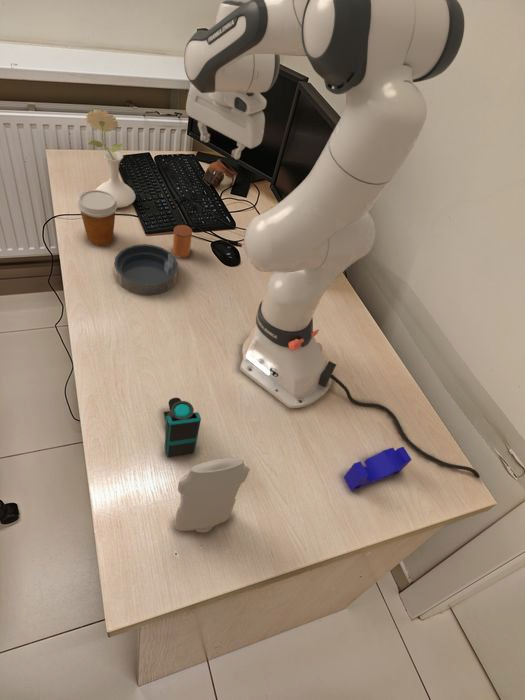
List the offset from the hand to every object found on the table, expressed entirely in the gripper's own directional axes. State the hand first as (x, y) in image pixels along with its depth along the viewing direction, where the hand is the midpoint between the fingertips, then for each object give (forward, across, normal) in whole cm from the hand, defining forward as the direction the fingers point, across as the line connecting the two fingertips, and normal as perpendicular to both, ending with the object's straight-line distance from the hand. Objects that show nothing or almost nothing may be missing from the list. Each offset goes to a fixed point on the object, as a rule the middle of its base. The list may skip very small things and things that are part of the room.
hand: (219, 149), depth 112 cm
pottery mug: (+27, -17, +26) cm, 41 cm away
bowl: (+27, -1, -24) cm, 36 cm away
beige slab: (+27, +49, -63) cm, 84 cm away
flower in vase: (+27, -31, -6) cm, 42 cm away
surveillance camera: (+27, +34, -53) cm, 69 cm away
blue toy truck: (+27, +70, -34) cm, 82 cm away
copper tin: (+27, -1, -10) cm, 29 cm away
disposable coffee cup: (+27, -19, -22) cm, 40 cm away
